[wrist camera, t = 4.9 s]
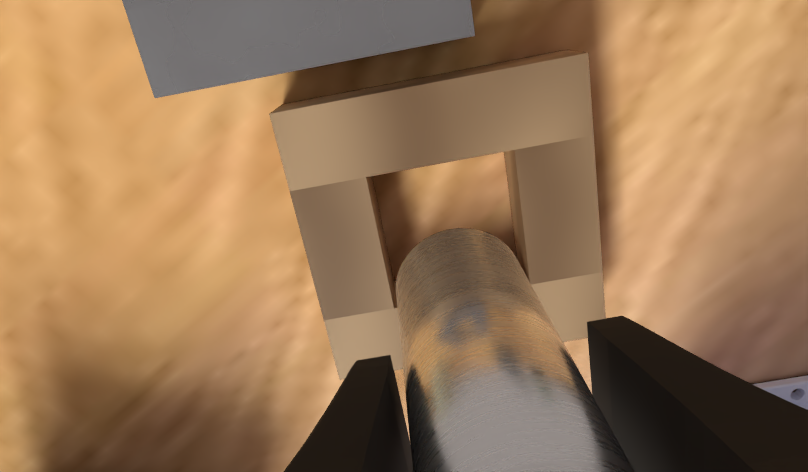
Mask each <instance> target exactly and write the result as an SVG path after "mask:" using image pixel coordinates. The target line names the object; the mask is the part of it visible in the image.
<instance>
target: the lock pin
mask: <svg viewBox="0 0 808 472" xmlns="http://www.w3.org/2000/svg"><path fill="white" fill-rule="evenodd" d="M396 298H397V309H398V319H399V330H400V340H401V350H402V361H403V371H404V381H405V392H406V402H407V413H408V423H409V433H410V444H411V454H412V464H413V472H635V471H634V469H633V467H632V466H631V464H630V462H629V460H628V458H627V457H626V455H625V453H624V451H623V449H622V448H621V446H620V444H619V442H618V440H617V439H616V437H615V435H614V433H613V431H612V430H611V428H610V426H609V424H608V422H607V421H606V419H605V417H604V415H603V413H602V412H601V410H600V408H599V406H598V404H597V403H596V401H595V399H594V397H593V395H592V394H591V392H590V390H589V388H588V386H587V385H586V383H585V381H584V379H583V377H582V376H581V374H580V372H579V370H578V368H577V367H576V365H575V363H574V361H573V359H572V357H571V356H570V354H569V352H568V350H567V348H566V347H565V345H564V343H563V341H562V339H561V338H560V336H559V334H558V332H557V330H556V329H555V327H554V325H553V323H552V321H551V320H550V318H549V316H548V314H547V312H546V311H545V309H544V307H543V305H542V303H541V302H540V300H539V298H538V296H537V294H536V293H535V291H534V289H533V287H532V285H531V284H530V282H529V280H528V278H527V276H526V275H525V273H524V271H523V269H522V267H521V266H520V264H519V262H518V260H517V258H516V257H515V255H514V253H513V252H512V250H511V249H510V248H509V247H508V246H507V245H506V244H505V243H504V242H503V241H501V240H500V239H499V238H497V237H495V236H494V235H492V234H490V233H487V232H484V231H481V230H477V229H470V228H456V229H449V230H445V231H442V232H439V233H436V234H434V235H431V236H430V237H428V238H426V239H424V240H423V241H422V242H420V243H419V244H417V245H416V246H415V247H414V248H413V249H412V250H411V251H410V253H409V254H408V255H407V256H406V258H405V259H404V261H403V262H402V265H401V267H400V269H399V272H398V275H397V280H396Z"/></svg>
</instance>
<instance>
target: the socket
mask: <svg viewBox="0 0 808 472" xmlns="http://www.w3.org/2000/svg"><path fill="white" fill-rule="evenodd" d="M269 115H270V119H271V122H272V126H273V130H274V134H275V138H276V141H277V145H278V149H279V153H280V156H281V160H282V164H283V168H284V171H285V175H286V179H287V183H288V187H289V190H290V194H291V198H292V202H293V205H294V209H295V213H296V217H297V220H298V224H299V228H300V232H301V236H302V239H303V243H304V247H305V251H306V254H307V258H308V262H309V266H310V270H311V273H312V277H313V281H314V285H315V288H316V292H317V296H318V300H319V303H320V307H321V311H322V315H323V319H324V322H325V326H326V330H327V334H328V337H329V341H330V345H331V349H332V352H333V356H334V360H335V364H336V368H337V371H338V375H339V379H340V380H341V379H345V378H346V376H347V374H348V372H349V371H350V369H351V367H352V366H353V365H354V363H355V362H356V361H357V360H362V359H368V358H374V357H380V356H386V355H391V360H392V364H393V369H394V370H400V369H403V361H402V350H401V340H400V330H399V319H398V309H397V298H396V281H395V282H394V280H393V275H392V270H391V266H390V261H389V256H388V251H387V247H386V242H385V237H384V232H383V228H382V223H381V218H380V213H379V209H378V204H377V199H376V194H375V189H374V185H373V180H372V176H375V175H381V174H386V173H392V172H397V171H402V170H408V169H413V168H419V167H424V166H429V165H435V164H440V163H446V162H451V161H457V160H462V159H467V158H473V157H478V156H484V155H489V154H494V153H500V152H504V157H505V165H506V173H507V181H508V189H509V197H510V205H511V214H512V222H513V230H514V238H515V246H516V254H517V260H518V262H519V264H520V266H521V267H522V269H523V271H524V273H525V275H526V276H527V278H528V280H529V282H530V284H531V285H532V287H533V289H534V291H535V293H536V294H537V296H538V298H539V300H540V302H541V303H542V305H543V307H544V309H545V311H546V312H547V314H548V316H549V318H550V320H551V321H552V323H553V325H554V327H555V329H556V330H557V332H558V334H559V336H560V338H561V339H562V341H563V342H567V341H573V340H579V339H585V338H588V331H587V322H589V321H595V320H601V319H606V315H605V300H604V284H603V269H602V254H601V239H600V223H599V208H598V193H597V178H596V163H595V147H594V132H593V117H592V102H591V86H590V71H589V56H588V53H586V52H579V51H572V50H563V51H558V52H553V53H548V54H543V55H537V56H532V57H527V58H522V59H517V60H511V61H506V62H501V63H496V64H491V65H485V66H480V67H475V68H470V69H464V70H459V71H454V72H449V73H444V74H438V75H433V76H428V77H423V78H418V79H412V80H407V81H402V82H397V83H392V84H386V85H381V86H376V87H371V88H365V89H360V90H355V91H350V92H345V93H339V94H334V95H329V96H324V97H319V98H313V99H308V100H303V101H298V102H293V103H287V104H282V105H281V106H279V107H278V108H277V109H275V110H274V111H273V112H271V113H270V114H269Z"/></svg>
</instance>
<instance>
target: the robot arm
mask: <svg viewBox="0 0 808 472" xmlns="http://www.w3.org/2000/svg"><path fill="white" fill-rule="evenodd" d="M587 331H588V344H589V356H590V369H591V382H592V395H593V397H594V399H595V401H596V403H597V404H598V406H599V408H600V410H601V412H602V413H603V415H604V417H605V419H606V421H607V422H608V424H609V426H610V428H611V430H612V431H613V433H614V435H615V437H616V439H617V440H618V442H619V444H620V446H621V448H622V449H623V451H624V453H625V455H626V457H627V458H628V460H629V462H630V464H631V466H632V467H633V469H634V471H635V472H808V375H807V376H801V377H794V378H788V379H782V380H776V381H770V382H764V383H758V384H750V383H748V382H746V381H744V380H742V379H740V378H738V377H736V376H734V375H732V374H730V373H728V372H726V371H724V370H722V369H720V368H718V367H716V366H714V365H713V364H711V363H709V362H707V361H705V360H703V359H701V358H699V357H698V356H696V355H694V354H692V353H690V352H688V351H686V350H685V349H683V348H681V347H679V346H677V345H676V344H674V343H672V342H670V341H668V340H667V339H665V338H663V337H661V336H659V335H658V334H656V333H654V332H652V331H650V330H649V329H647V328H645V327H643V326H641V325H639V324H638V323H636V322H634V321H632V320H630V319H628V318H626V317H624V316H618V317H612V318H606V319H601V320H595V321H589V322H587ZM795 389H797V390H796V391H795V392H793V393H792V391H794V390H795ZM284 472H413V464H412V454H411V445H410V441H409V436H408V432H407V427H406V423H405V418H404V414H403V409H402V405H401V400H400V396H399V391H398V387H397V382H396V378H395V373H394V369H393V364H392V360H391V355H386V356H380V357H374V358H368V359H362V360H357V361H356V362H355V363H354V365H353V366H352V367H351V369H350V371H349V372H348V374H347V376H346V378H345V379H344V381H343V383H342V384H341V386H340V388H339V390H338V391H337V393H336V395H335V396H334V398H333V400H332V401H331V403H330V404H329V406H328V408H327V409H326V411H325V413H324V414H323V416H322V417H321V419H320V420H319V422H318V423H317V425H316V426H315V428H314V429H313V431H312V432H311V434H310V436H309V437H308V439H307V440H306V442H305V443H304V445H303V446H302V447H301V449H300V450H299V452H298V453H297V454H296V456H295V457H294V458H293V460H292V461H291V462H290V464H289V465H288V467H287V468H286V469H285V471H284Z"/></svg>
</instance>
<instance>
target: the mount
mask: <svg viewBox="0 0 808 472" xmlns="http://www.w3.org/2000/svg"><path fill="white" fill-rule="evenodd" d="M122 1H123V4H124V7H125V10H126V13H127V16H128V19H129V22H130V25H131V28H132V31H133V34H134V37H135V40H136V43H137V46H138V49H139V52H140V55H141V58H142V61H143V64H144V67H145V70H146V73H147V76H148V79H149V82H150V85H151V88H152V91H153V94H154V97H155V98H158V97H163V96H169V95H174V94H179V93H184V92H189V91H194V90H199V89H205V88H210V87H215V86H220V85H225V84H230V83H235V82H241V81H246V80H251V79H256V78H261V77H266V76H271V75H276V74H282V73H287V72H292V71H297V70H302V69H307V68H312V67H318V66H323V65H328V64H333V63H338V62H343V61H348V60H354V59H359V58H364V57H369V56H374V55H379V54H384V53H390V52H395V51H400V50H405V49H410V48H415V47H420V46H426V45H431V44H436V43H441V42H446V41H451V40H456V39H462V38H467V37H472V36H475V31H474V24H473V16H472V8H471V1H470V0H122Z"/></svg>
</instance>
